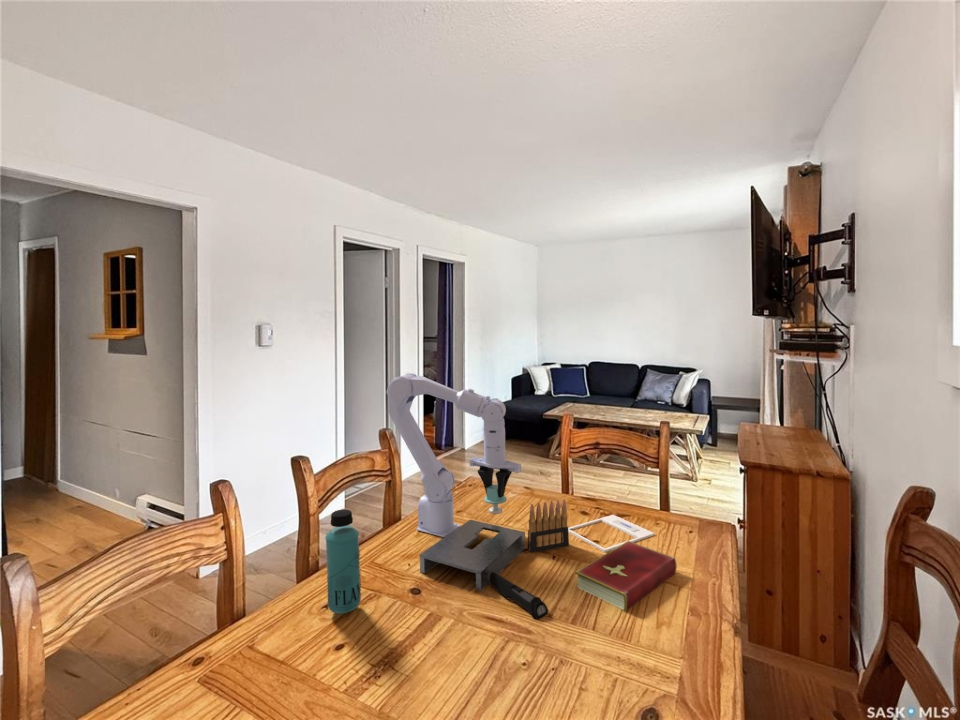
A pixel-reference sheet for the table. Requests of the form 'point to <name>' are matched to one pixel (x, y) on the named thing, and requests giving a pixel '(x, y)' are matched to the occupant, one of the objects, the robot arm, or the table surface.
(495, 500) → the peg
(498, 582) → the electric trimmer
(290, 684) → the table surface
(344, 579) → the beverage bottle
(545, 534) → the ammunition clip
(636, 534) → the photo frame
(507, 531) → the keyhole plate
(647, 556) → the hardcover book
